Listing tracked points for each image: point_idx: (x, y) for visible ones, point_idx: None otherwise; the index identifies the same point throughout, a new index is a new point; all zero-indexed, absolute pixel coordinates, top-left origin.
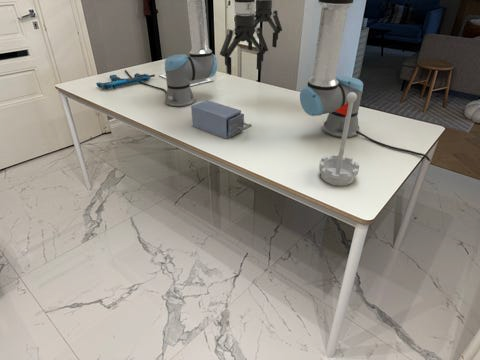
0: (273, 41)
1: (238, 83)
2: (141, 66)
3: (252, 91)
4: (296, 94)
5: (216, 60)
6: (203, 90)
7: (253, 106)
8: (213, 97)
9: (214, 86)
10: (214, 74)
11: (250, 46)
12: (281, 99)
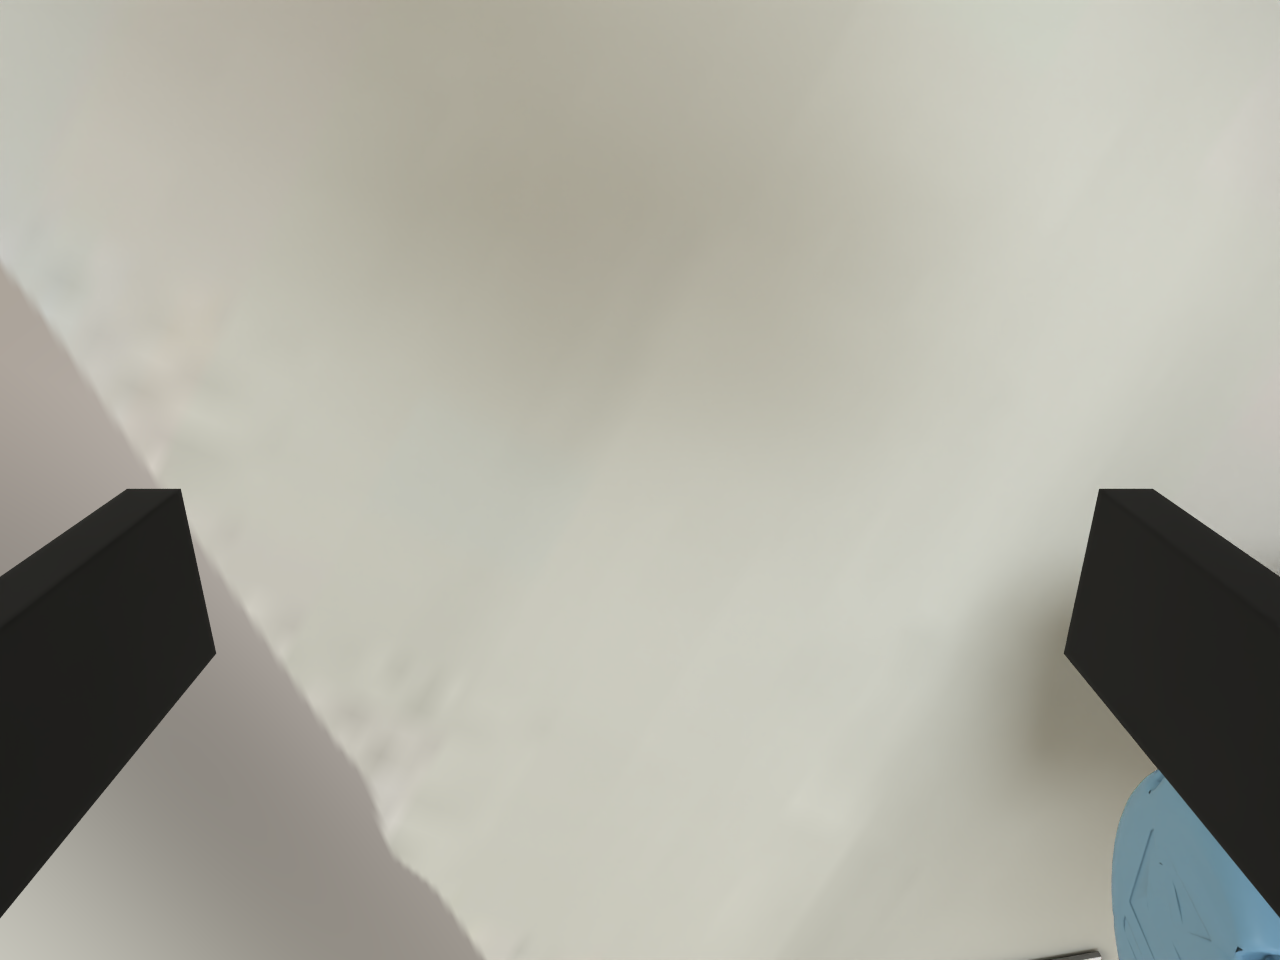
0: (106, 700)
1: (580, 869)
2: None
3: (559, 616)
4: (105, 309)
5: (1263, 933)
6: (996, 833)
7: (796, 179)
8: (1025, 628)
9: (841, 885)
10: (1159, 779)
11: (1226, 560)
12: (363, 237)
